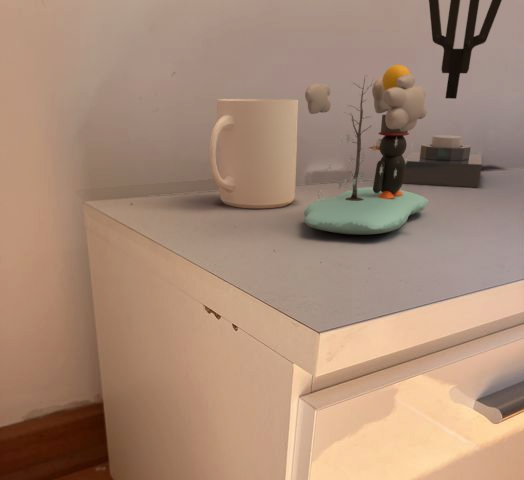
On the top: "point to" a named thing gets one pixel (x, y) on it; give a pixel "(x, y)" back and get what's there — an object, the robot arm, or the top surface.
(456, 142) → the flush button
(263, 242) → the top surface
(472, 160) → the push button box
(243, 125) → the mug
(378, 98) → the penguin figurine
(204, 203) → the top surface
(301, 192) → the top surface
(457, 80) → the robot arm
